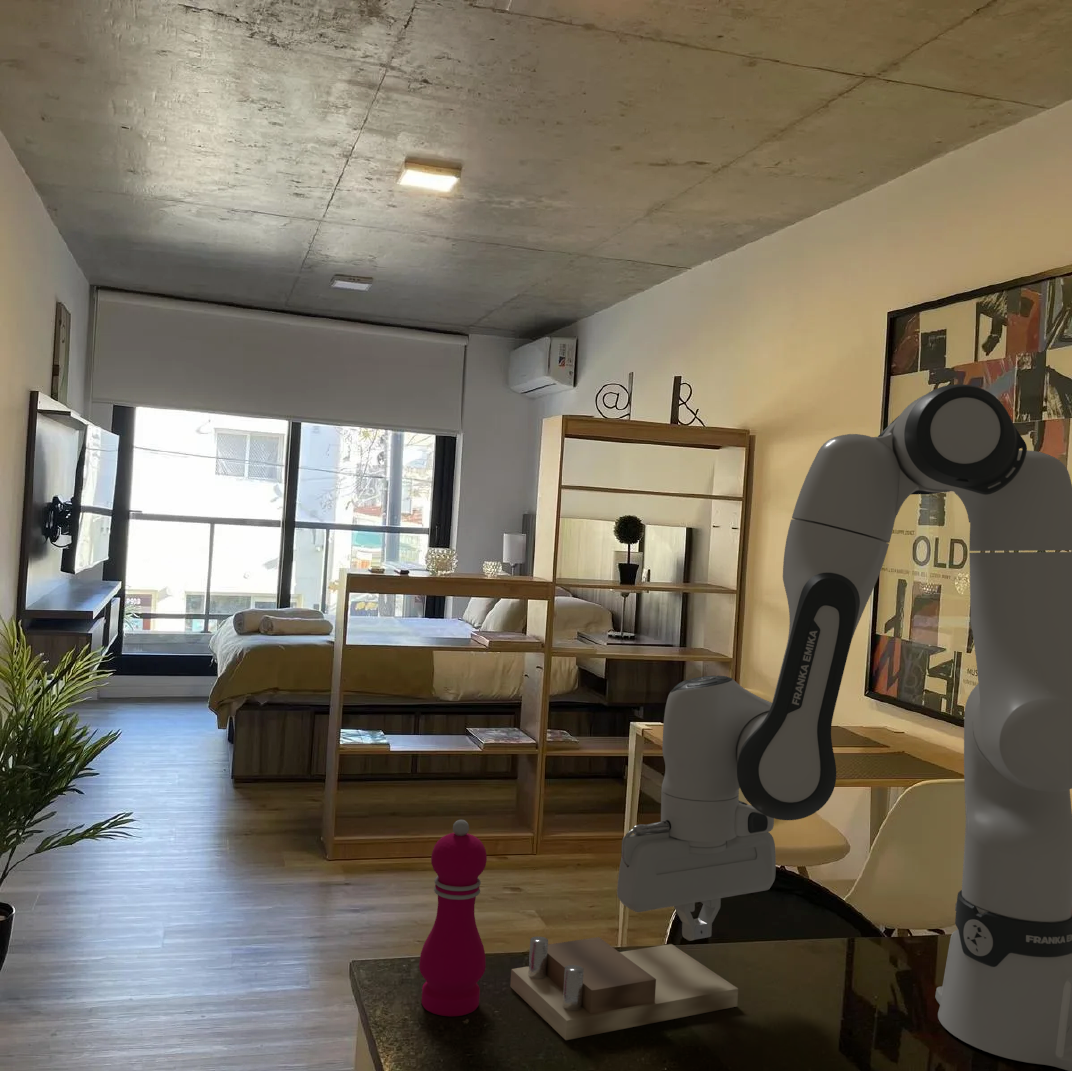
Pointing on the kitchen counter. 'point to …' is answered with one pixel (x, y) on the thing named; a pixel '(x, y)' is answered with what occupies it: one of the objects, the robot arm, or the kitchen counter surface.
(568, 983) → the board
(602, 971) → the walnut plate
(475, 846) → the pepper mill
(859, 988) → the kitchen counter surface
